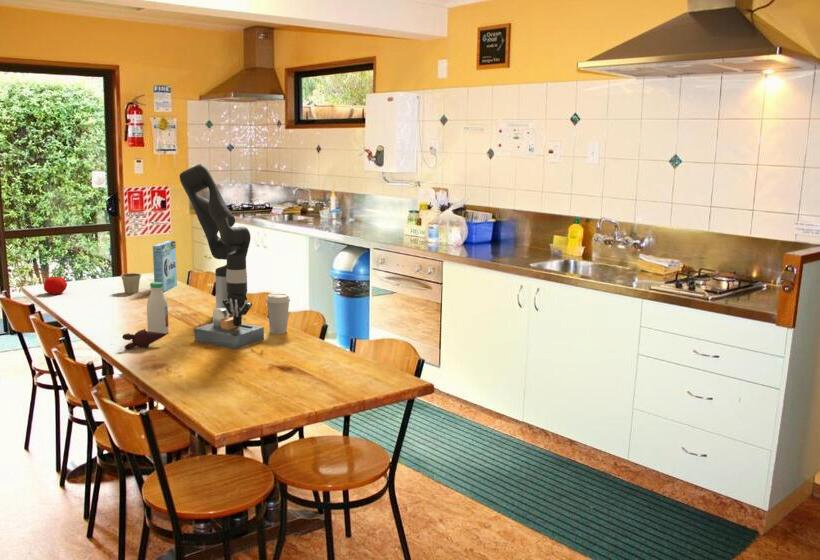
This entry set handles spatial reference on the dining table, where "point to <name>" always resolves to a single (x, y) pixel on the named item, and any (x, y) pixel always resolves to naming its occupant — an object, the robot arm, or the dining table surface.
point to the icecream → (142, 338)
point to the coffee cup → (278, 312)
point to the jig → (229, 335)
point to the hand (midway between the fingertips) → (237, 325)
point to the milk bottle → (157, 309)
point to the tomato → (55, 285)
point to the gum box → (165, 264)
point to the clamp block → (228, 323)
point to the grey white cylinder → (219, 316)
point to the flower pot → (131, 282)
